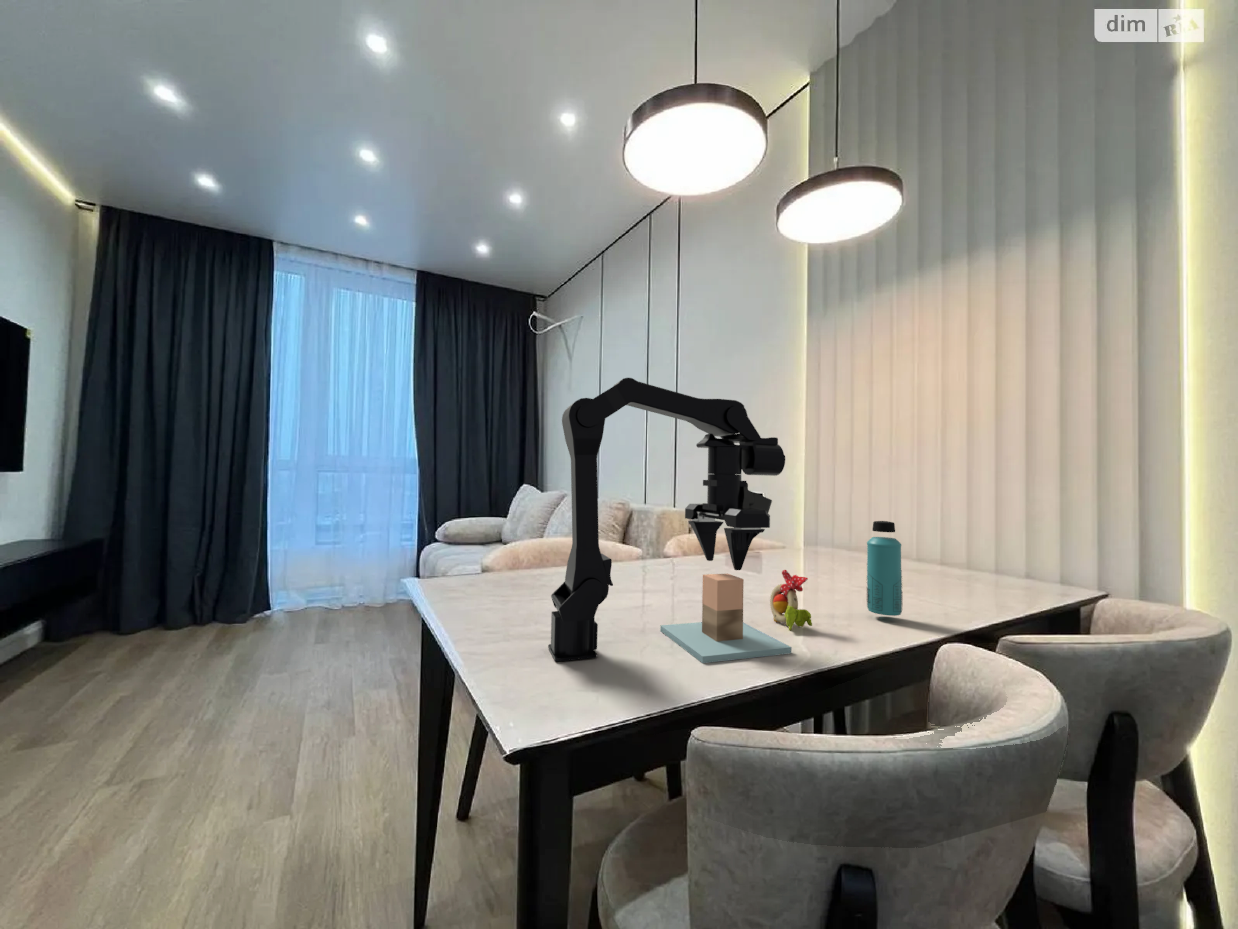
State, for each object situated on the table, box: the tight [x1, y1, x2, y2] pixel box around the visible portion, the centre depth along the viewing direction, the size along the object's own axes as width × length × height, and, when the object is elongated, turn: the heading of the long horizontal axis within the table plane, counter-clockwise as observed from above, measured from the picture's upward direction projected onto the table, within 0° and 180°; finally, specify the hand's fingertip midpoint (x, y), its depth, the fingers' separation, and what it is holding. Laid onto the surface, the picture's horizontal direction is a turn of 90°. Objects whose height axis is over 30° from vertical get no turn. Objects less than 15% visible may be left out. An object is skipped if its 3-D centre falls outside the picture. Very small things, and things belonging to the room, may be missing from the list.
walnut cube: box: [701, 604, 744, 642], centre depth 83 cm, size 5×5×5 cm
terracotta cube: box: [701, 573, 745, 611], centre depth 83 cm, size 5×5×5 cm
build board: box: [659, 621, 792, 664], centre depth 83 cm, size 16×16×1 cm
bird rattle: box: [769, 569, 813, 631], centre depth 94 cm, size 6×11×9 cm
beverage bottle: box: [865, 520, 904, 617], centre depth 100 cm, size 6×7×20 cm
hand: (723, 565), depth 83 cm, fingers open, 9 cm apart
